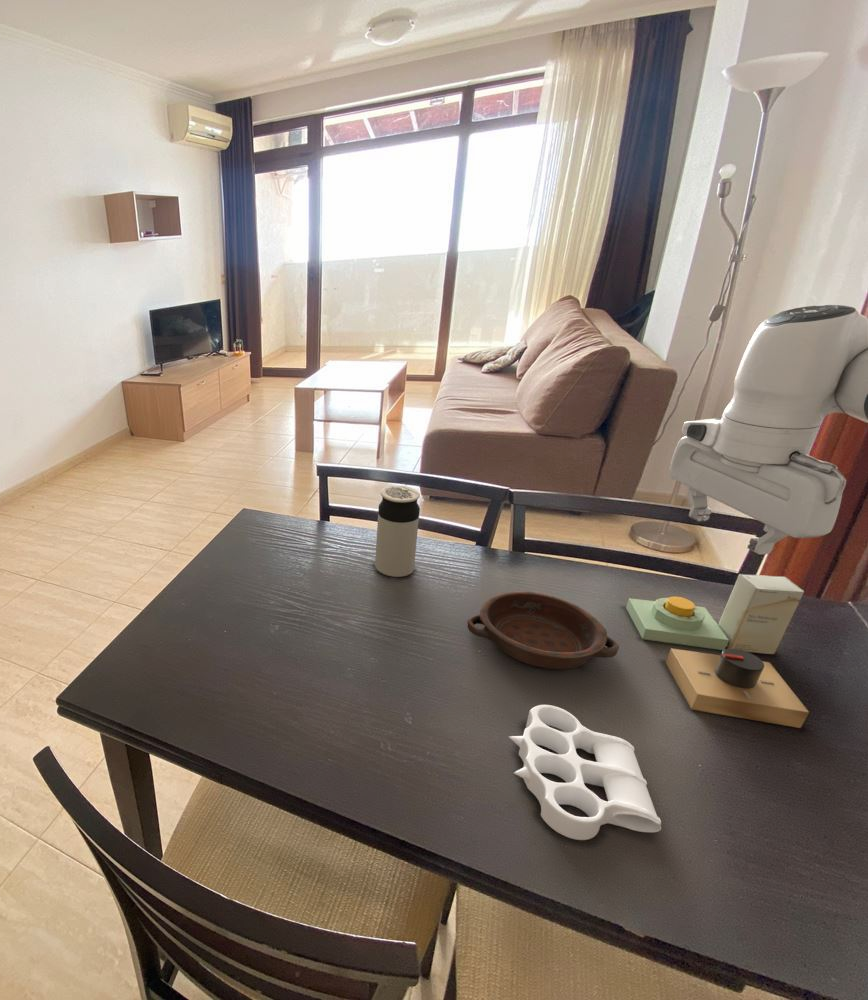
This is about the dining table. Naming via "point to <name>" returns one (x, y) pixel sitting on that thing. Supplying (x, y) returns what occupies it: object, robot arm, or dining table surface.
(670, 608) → the button
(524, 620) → the dish
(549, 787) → the knuckle duster
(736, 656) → the dial
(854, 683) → the dining table surface
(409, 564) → the travel mug
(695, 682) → the dial panel
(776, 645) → the cosmetic box
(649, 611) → the button housing
